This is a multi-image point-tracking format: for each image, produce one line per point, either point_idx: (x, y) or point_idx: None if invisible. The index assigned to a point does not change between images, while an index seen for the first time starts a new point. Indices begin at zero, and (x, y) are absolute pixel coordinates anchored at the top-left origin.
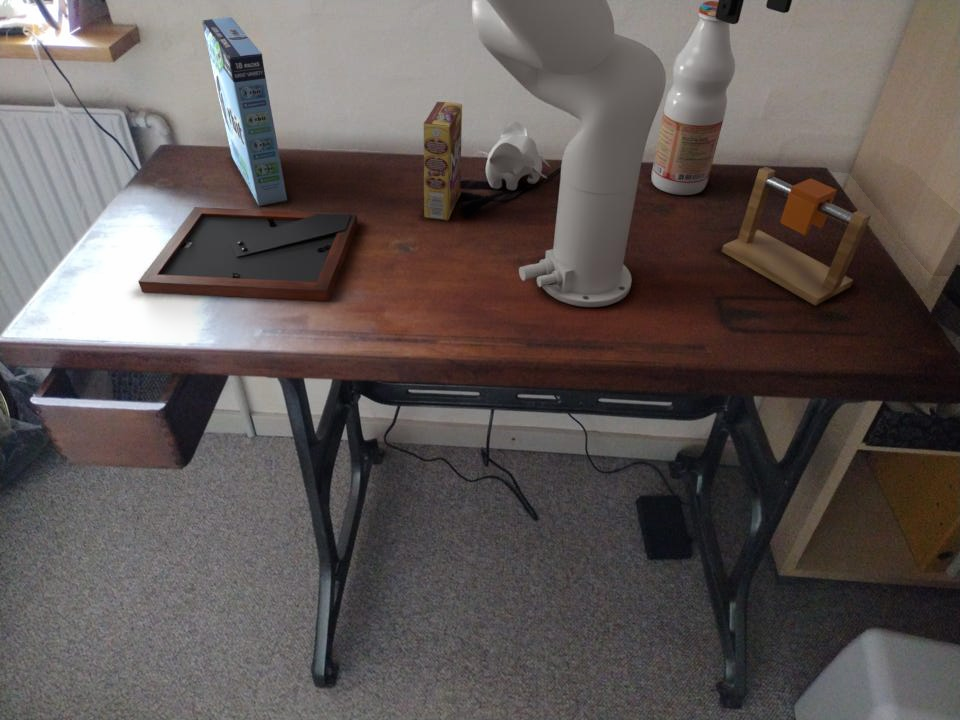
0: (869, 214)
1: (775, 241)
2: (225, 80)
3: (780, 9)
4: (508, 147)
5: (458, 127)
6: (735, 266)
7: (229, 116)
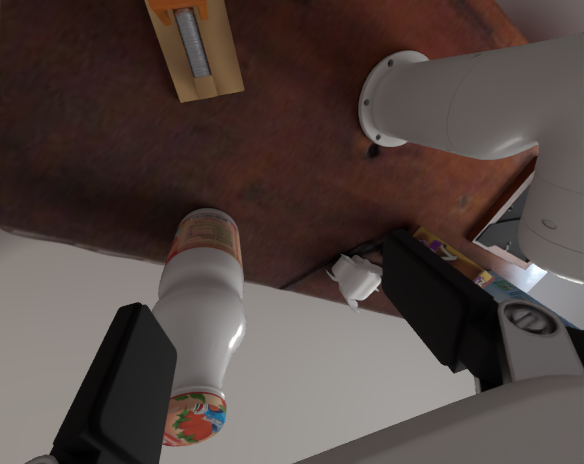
0: None
1: (174, 66)
2: None
3: (151, 319)
4: None
5: None
6: (246, 54)
7: None
